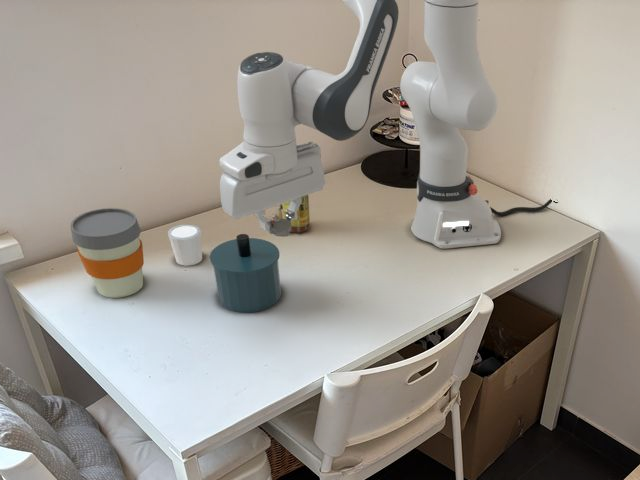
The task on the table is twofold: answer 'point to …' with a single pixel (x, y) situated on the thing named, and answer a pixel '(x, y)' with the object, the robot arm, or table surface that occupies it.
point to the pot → (249, 289)
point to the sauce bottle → (299, 215)
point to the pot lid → (244, 255)
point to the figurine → (280, 224)
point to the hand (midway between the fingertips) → (279, 223)
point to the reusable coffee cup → (110, 250)
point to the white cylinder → (186, 244)
